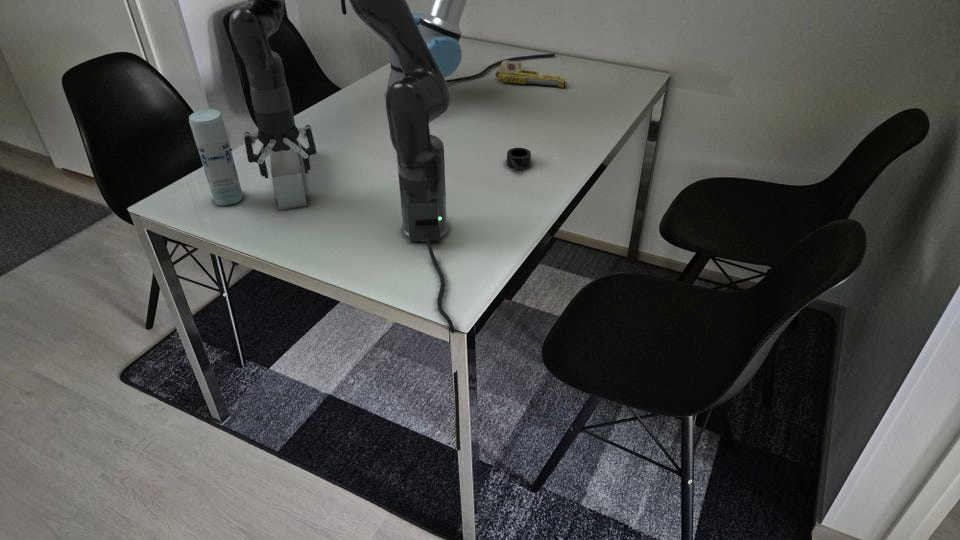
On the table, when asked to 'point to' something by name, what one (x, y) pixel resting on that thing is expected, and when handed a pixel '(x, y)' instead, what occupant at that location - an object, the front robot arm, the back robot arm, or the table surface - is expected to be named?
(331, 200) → the table surface
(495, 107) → the table surface
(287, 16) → the back robot arm
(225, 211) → the table surface
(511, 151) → the duct tape
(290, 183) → the bar
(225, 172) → the spray paint can
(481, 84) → the table surface
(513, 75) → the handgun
